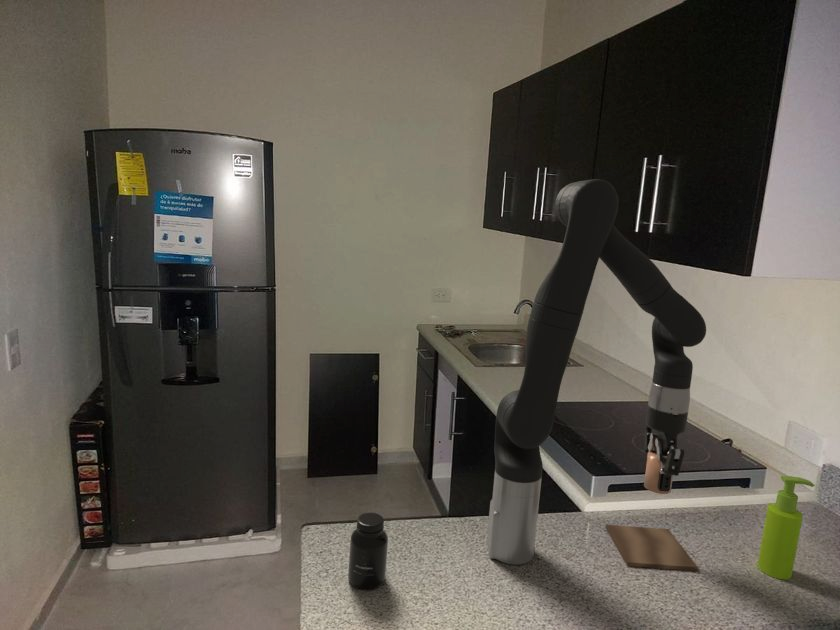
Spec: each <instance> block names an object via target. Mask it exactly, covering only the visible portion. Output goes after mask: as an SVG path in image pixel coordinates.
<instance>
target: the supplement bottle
mask: <svg viewBox="0 0 840 630" xmlns="http://www.w3.org/2000/svg"><path fill="white" fill-rule="evenodd" d="M384 521H385V520H384V517H383V516H382V515H381V514H379V513H376V512H365V513H362V514H360V515H359V516H358V517H357V520H356V522H357V523H356V529H354V530H353V532H352V533H351V535H350V539H349V540H350V541H349V543H350V544H349V558H348V573H347V575H348V577H347V578H348V581H349V583H350V584H351V585H352V586H353V587H354V588H355V589H359V590H363V591H370V590H374V589H375V590H376V589H378V588H379V587H381V586H382V585H383V584H384V582H385V580H386V571H387V562H388V561H387V559H388V557H387V556H388V547H389V546H388V544H389V536H388V533H387V532H386V530H384V528H385V525H384V524H385V522H384Z"/></svg>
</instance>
